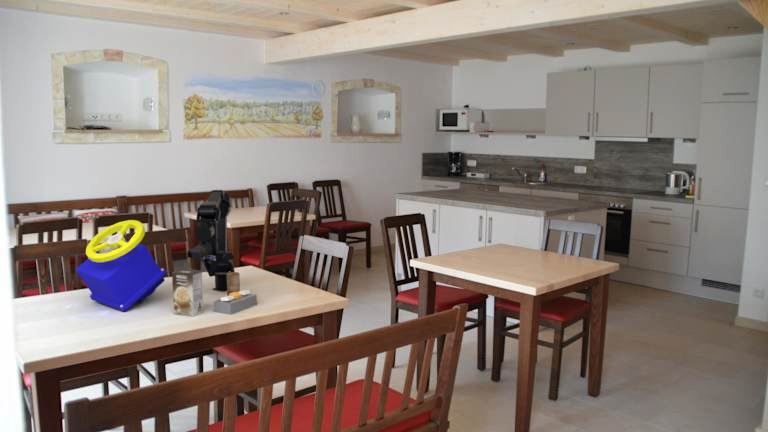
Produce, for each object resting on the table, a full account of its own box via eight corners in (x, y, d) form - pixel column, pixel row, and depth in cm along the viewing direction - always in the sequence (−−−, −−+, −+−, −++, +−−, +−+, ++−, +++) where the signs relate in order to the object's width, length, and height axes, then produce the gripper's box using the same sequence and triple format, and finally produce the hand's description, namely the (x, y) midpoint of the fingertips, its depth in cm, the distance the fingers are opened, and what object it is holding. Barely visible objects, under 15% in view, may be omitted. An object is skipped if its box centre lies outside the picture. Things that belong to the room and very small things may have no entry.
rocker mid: (228, 296, 241) (229, 293, 241) (234, 294, 244) (234, 291, 243) (236, 299, 239) (236, 296, 239) (241, 297, 242) (242, 294, 242)
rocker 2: (237, 295, 245) (236, 292, 245) (242, 293, 248) (242, 290, 248) (244, 295, 243) (244, 292, 243) (250, 293, 246) (249, 290, 246)
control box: (148, 269, 268) (113, 214, 251) (188, 282, 253) (154, 224, 236) (100, 312, 253) (59, 255, 236) (140, 328, 238) (99, 269, 221)
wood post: (224, 298, 256) (224, 274, 255) (233, 295, 260) (232, 271, 259) (234, 299, 254) (233, 275, 252) (242, 297, 258) (242, 272, 257)
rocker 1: (220, 300, 237) (220, 297, 237) (226, 298, 240) (226, 295, 239) (228, 300, 235) (227, 297, 235) (234, 298, 238) (233, 295, 238)
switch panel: (214, 311, 237) (213, 301, 237) (240, 302, 250) (240, 292, 250) (230, 314, 234) (230, 304, 233) (256, 304, 247) (256, 294, 246)
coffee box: (172, 314, 234) (170, 271, 231) (183, 309, 240) (181, 268, 237) (193, 317, 231) (191, 273, 228) (204, 312, 237) (202, 270, 234)
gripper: (175, 238, 241) (177, 278, 243) (213, 242, 233) (214, 283, 235) (197, 233, 251) (198, 272, 253) (233, 237, 242) (235, 277, 244)
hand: (211, 276), depth 246 cm, fingers closed
